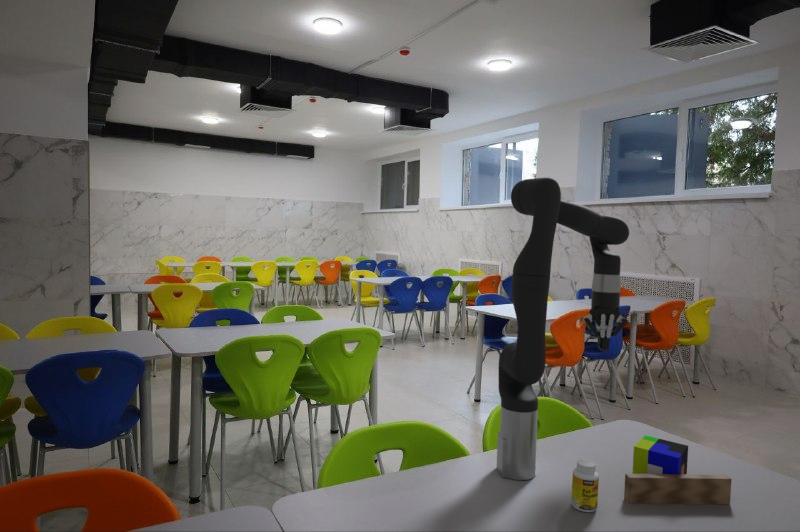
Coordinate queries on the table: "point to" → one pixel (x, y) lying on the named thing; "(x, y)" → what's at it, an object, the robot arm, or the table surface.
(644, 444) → the puzzle toy
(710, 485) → the board
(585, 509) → the supplement bottle
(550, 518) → the table surface
